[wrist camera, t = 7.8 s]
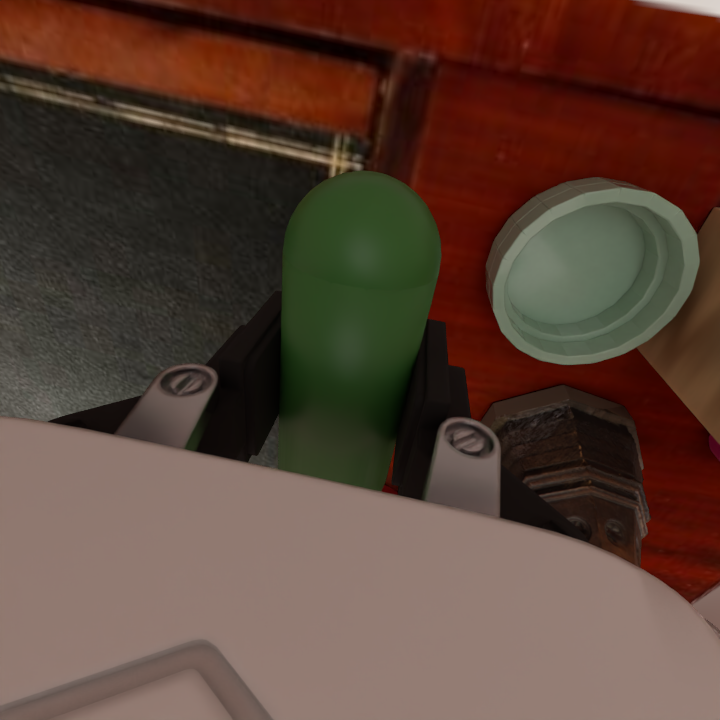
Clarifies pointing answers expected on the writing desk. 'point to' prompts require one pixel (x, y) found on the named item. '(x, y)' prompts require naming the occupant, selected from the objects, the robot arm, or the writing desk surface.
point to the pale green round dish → (590, 270)
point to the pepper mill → (714, 447)
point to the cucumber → (352, 324)
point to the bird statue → (578, 462)
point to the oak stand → (695, 337)
